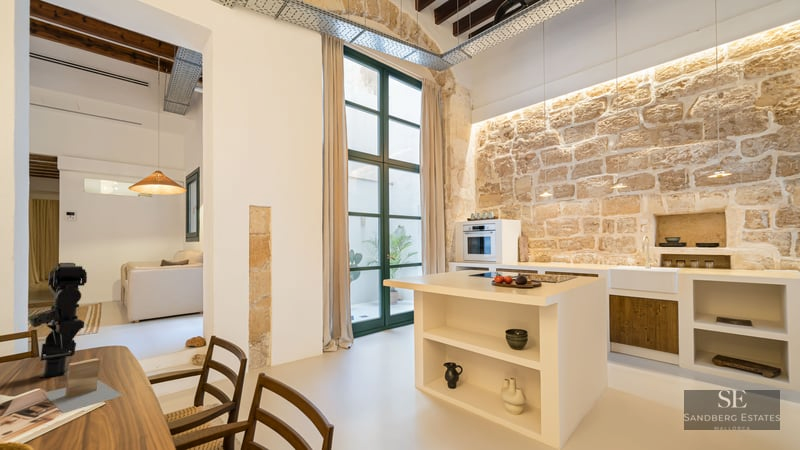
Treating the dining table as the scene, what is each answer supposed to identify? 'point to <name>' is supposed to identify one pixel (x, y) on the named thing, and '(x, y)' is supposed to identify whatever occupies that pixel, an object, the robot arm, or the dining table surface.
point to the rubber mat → (81, 397)
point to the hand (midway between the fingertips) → (61, 346)
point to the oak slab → (82, 377)
